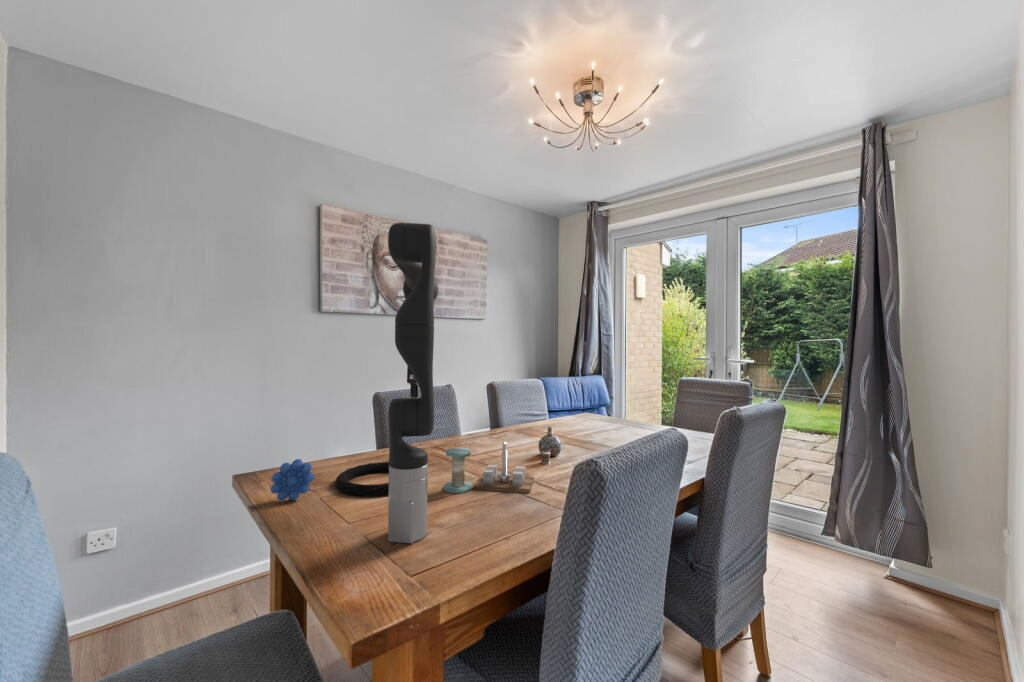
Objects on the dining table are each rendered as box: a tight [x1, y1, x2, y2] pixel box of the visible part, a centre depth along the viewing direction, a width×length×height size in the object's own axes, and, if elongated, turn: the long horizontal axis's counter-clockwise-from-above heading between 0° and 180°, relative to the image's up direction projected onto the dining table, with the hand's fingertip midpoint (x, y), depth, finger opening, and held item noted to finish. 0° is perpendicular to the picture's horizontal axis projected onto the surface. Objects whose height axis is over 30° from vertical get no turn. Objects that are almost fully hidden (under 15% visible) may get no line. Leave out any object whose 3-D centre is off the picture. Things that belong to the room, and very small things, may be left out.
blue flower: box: [270, 458, 315, 501], centre depth 130 cm, size 12×7×12 cm, turn 108°
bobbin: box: [443, 447, 473, 494], centre depth 141 cm, size 9×9×12 cm
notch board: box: [472, 464, 535, 494], centre depth 144 cm, size 12×18×5 cm, turn 81°
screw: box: [497, 441, 513, 483], centre depth 144 cm, size 13×5×5 cm
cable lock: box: [334, 461, 389, 498], centre depth 147 cm, size 28×4×30 cm
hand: (419, 395), depth 136 cm, fingers open, 8 cm apart
